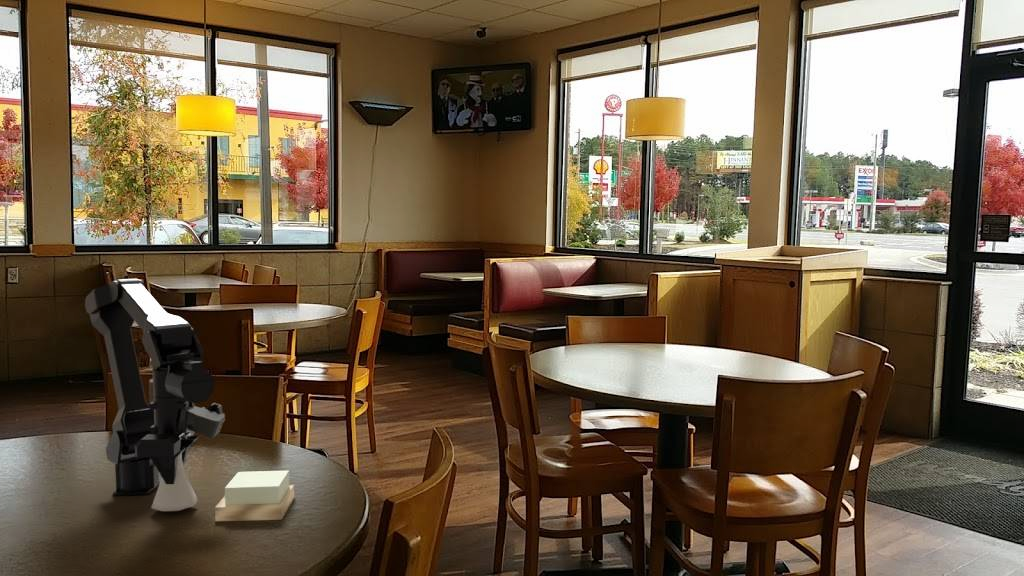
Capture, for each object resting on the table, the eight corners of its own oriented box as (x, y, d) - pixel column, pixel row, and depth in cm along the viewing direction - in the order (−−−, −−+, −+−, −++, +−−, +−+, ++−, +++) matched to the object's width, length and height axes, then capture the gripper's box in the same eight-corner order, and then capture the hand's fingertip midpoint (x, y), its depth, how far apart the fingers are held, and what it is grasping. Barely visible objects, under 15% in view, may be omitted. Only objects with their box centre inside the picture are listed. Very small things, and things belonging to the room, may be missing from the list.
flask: (180, 514, 138) (178, 456, 137) (143, 511, 140) (141, 454, 139) (205, 500, 145) (203, 445, 144) (169, 497, 147) (167, 442, 146)
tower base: (215, 524, 138) (215, 507, 137) (232, 502, 149) (232, 486, 148) (281, 523, 138) (281, 505, 138) (294, 501, 149) (293, 485, 149)
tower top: (225, 505, 138) (224, 487, 138) (238, 488, 147) (238, 471, 147) (279, 503, 139) (278, 486, 139) (289, 486, 148) (288, 470, 148)
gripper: (202, 406, 132) (205, 499, 133) (233, 383, 151) (235, 465, 152) (131, 407, 131) (135, 501, 132) (171, 383, 150) (174, 467, 151)
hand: (174, 482), depth 142 cm, fingers closed on flask, 3 cm apart
